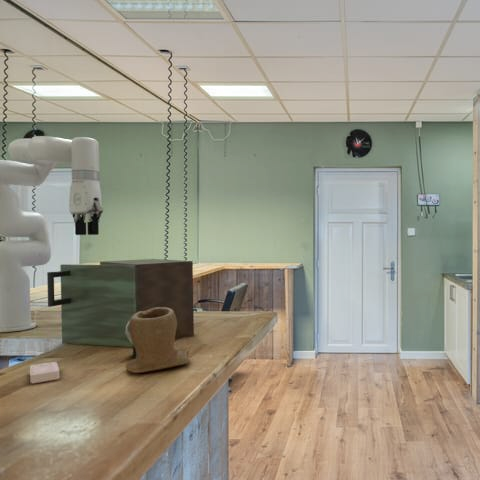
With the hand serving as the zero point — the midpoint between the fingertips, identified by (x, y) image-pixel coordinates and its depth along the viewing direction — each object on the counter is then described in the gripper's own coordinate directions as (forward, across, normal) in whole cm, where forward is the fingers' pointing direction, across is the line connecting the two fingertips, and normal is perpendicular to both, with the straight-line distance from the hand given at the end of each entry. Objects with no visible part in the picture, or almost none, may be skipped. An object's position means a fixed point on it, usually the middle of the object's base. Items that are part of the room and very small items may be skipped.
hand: (86, 234), depth 145 cm
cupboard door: (+33, +11, -6) cm, 36 cm away
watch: (+34, +33, -6) cm, 48 cm away
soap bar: (+34, +29, -28) cm, 53 cm away
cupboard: (+34, +12, +12) cm, 37 cm away
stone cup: (+34, +48, -12) cm, 60 cm away
